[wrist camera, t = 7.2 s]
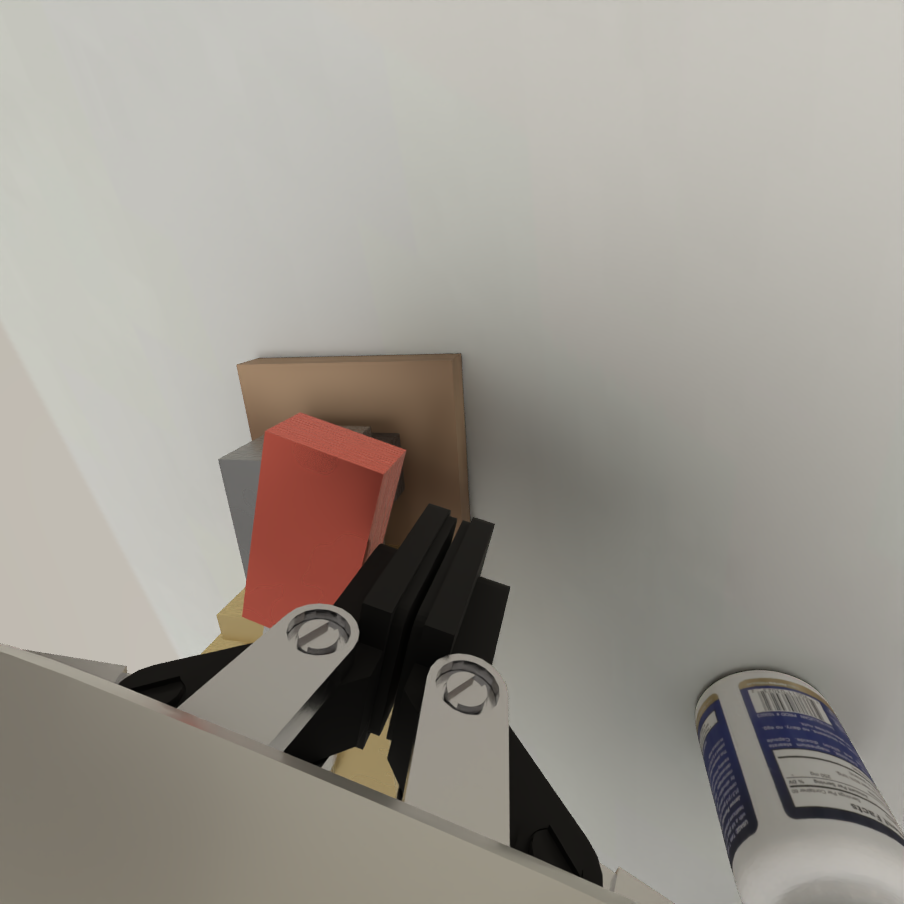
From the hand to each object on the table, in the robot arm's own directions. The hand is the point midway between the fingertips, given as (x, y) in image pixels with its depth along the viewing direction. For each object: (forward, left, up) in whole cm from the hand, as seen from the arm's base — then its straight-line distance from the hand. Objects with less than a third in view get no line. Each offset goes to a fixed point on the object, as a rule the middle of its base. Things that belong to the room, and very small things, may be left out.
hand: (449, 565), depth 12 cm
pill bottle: (-12, -11, -9) cm, 19 cm away
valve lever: (-3, +4, -1) cm, 5 cm away
